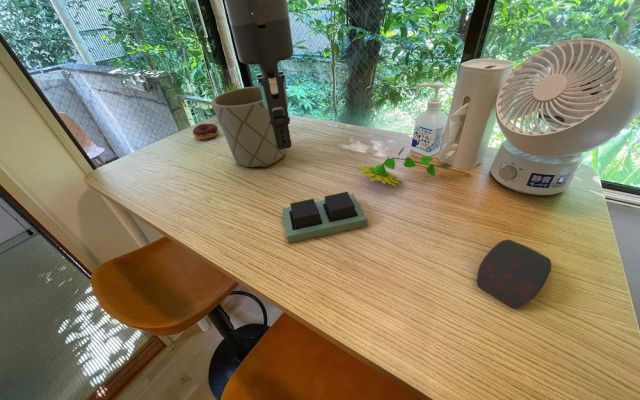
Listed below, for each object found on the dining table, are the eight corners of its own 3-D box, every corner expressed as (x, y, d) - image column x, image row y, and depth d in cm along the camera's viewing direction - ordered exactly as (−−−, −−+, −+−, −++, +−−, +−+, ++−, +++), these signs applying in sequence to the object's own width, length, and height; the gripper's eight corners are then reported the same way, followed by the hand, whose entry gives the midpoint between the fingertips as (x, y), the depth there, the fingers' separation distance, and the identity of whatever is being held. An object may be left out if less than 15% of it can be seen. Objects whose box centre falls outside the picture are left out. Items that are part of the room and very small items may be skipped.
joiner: (367, 225, 55) (367, 218, 54) (288, 243, 53) (286, 236, 52) (353, 200, 63) (353, 193, 62) (283, 214, 61) (282, 208, 60)
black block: (320, 228, 56) (318, 213, 53) (296, 234, 55) (293, 218, 53) (315, 213, 60) (313, 198, 57) (293, 218, 59) (290, 203, 57)
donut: (214, 140, 99) (210, 131, 97) (190, 141, 101) (186, 132, 98) (223, 130, 107) (220, 121, 105) (201, 131, 108) (198, 122, 106)
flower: (449, 184, 75) (351, 163, 71) (462, 156, 71) (360, 133, 68) (472, 203, 64) (358, 179, 60) (489, 171, 60) (369, 144, 57)
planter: (298, 146, 89) (289, 86, 77) (271, 175, 75) (254, 107, 63) (253, 141, 95) (237, 85, 83) (220, 167, 82) (196, 105, 69)
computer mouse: (468, 281, 43) (475, 266, 40) (502, 239, 49) (510, 224, 47) (523, 315, 38) (534, 301, 35) (553, 264, 44) (565, 248, 42)
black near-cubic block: (354, 221, 57) (354, 205, 54) (331, 226, 56) (330, 210, 53) (347, 206, 61) (347, 191, 58) (325, 211, 60) (324, 196, 58)
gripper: (232, 19, 37) (258, 125, 47) (225, 23, 26) (260, 160, 36) (283, 14, 38) (297, 119, 48) (296, 15, 27) (312, 151, 37)
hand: (281, 137), depth 42 cm, fingers open, 8 cm apart
